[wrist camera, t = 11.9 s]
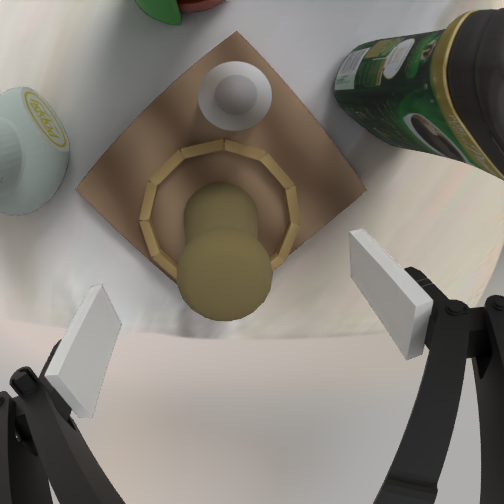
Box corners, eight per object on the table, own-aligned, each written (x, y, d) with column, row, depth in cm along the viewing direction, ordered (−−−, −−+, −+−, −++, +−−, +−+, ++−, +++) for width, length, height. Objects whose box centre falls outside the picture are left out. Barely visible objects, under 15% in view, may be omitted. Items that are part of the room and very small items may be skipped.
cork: (202, 262, 27) (199, 351, 17) (170, 200, 24) (142, 265, 14) (268, 235, 27) (300, 314, 17) (241, 170, 24) (261, 215, 14)
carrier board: (235, 35, 21) (243, 6, 14) (359, 186, 27) (402, 212, 20) (81, 185, 24) (41, 212, 17) (213, 305, 31) (214, 358, 24)
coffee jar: (434, 94, 24) (600, 121, 7) (398, 157, 26) (563, 233, 10) (358, 29, 21) (526, -25, 4) (316, 97, 23) (487, 94, 7)
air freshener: (-16, 134, 20) (-85, 154, 11) (35, 73, 19) (-36, 69, 10) (36, 217, 25) (-23, 265, 16) (93, 163, 24) (34, 194, 15)
